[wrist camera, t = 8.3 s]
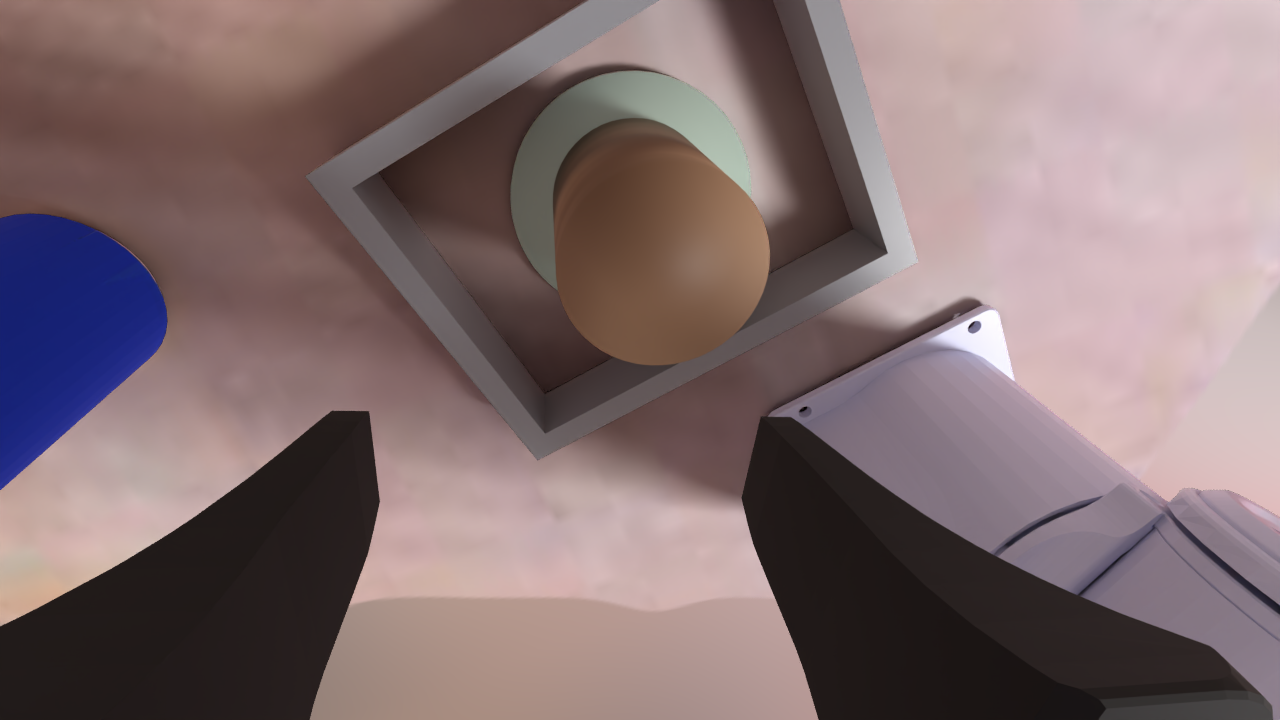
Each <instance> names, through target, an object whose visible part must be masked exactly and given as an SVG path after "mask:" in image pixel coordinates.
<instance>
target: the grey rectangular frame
mask: <svg viewBox="0 0 1280 720" xmlns="http://www.w3.org/2000/svg"><path fill="white" fill-rule="evenodd" d="M657 1H659V0H585V1H583V2H581V3H580V4H578V5H577V6H575V7H573V8H572V9H570V10H569V11H567V12H565V13H564V14H562V15H561V16H559V17H557V18H556V19H554V20H552V21H551V22H549V23H548V24H546V25H544V26H543V27H541V28H540V29H538V30H536V31H535V32H533V33H532V34H530V35H528V36H527V37H525V38H524V39H522V40H520V41H519V42H517V43H515V44H514V45H512V46H511V47H509V48H507V49H506V50H504V51H503V52H501V53H499V54H498V55H496V56H495V57H493V58H491V59H490V60H488V61H487V62H485V63H483V64H482V65H480V66H478V67H477V68H475V69H474V70H472V71H470V72H469V73H467V74H466V75H464V76H462V77H461V78H459V79H458V80H456V81H454V82H453V83H451V84H450V85H448V86H446V87H445V88H443V89H441V90H440V91H438V92H437V93H435V94H433V95H432V96H430V97H429V98H427V99H425V100H424V101H422V102H421V103H419V104H417V105H416V106H414V107H412V108H411V109H409V110H408V111H406V112H404V113H403V114H401V115H400V116H398V117H396V118H395V119H393V120H392V121H390V122H388V123H387V124H385V125H384V126H382V127H380V128H379V129H377V130H375V131H374V132H372V133H371V134H369V135H367V136H366V137H364V138H363V139H361V140H359V141H358V142H356V143H355V144H353V145H351V146H350V147H348V148H347V149H345V150H343V151H342V152H340V153H338V154H337V155H335V156H334V157H332V158H331V159H329V160H328V161H326V162H325V163H324V164H322V165H321V166H319V167H318V168H316V169H315V170H314V171H312V172H311V173H309V174H308V175H306V176H305V177H306V178H307V180H308V181H309V182H310V183H311V184H312V186H313V187H314V188H315V189H316V191H317V192H318V193H319V194H320V195H321V197H322V198H323V199H324V200H325V202H326V203H327V204H328V205H329V206H330V208H331V209H332V210H333V211H334V213H335V214H336V215H337V216H338V217H339V219H340V220H341V221H342V222H343V224H344V225H345V226H346V227H347V228H348V230H349V231H350V232H351V233H352V235H353V236H354V237H355V238H356V239H357V241H358V242H359V243H360V244H361V246H362V247H363V248H364V249H365V250H366V252H367V253H368V254H369V255H370V257H371V258H372V259H373V260H374V261H375V263H376V264H377V265H378V266H379V268H380V269H381V270H382V271H383V272H384V274H385V275H386V276H387V277H388V278H389V280H390V281H391V282H392V283H393V285H394V286H395V287H396V288H397V289H398V291H399V292H400V293H401V294H402V296H403V297H404V298H405V299H406V300H407V302H408V303H409V304H410V305H411V307H412V308H413V309H414V310H415V311H416V313H417V314H418V315H419V316H420V318H421V319H422V320H423V321H424V322H425V324H426V325H427V326H428V327H429V329H430V330H431V331H432V332H433V333H434V335H435V336H436V337H437V338H438V340H439V341H440V342H441V343H442V344H443V346H444V347H445V348H446V349H447V351H448V352H449V353H450V354H451V355H452V357H453V358H454V359H455V360H456V361H457V363H458V364H459V365H460V366H461V368H462V369H463V370H464V371H465V372H466V374H467V375H468V376H469V377H470V379H471V380H472V381H473V382H474V383H475V385H476V386H477V387H478V388H479V390H480V391H481V392H482V393H483V394H484V396H485V397H486V398H487V399H488V401H489V402H490V403H491V404H492V405H493V407H494V408H495V409H496V410H497V412H498V413H499V414H500V415H501V416H502V418H503V419H504V420H505V421H506V423H507V424H508V425H509V426H510V427H511V429H512V430H513V431H514V432H515V434H516V435H517V436H518V437H519V438H520V440H521V441H522V442H523V443H524V444H525V446H526V447H527V448H528V449H529V451H530V452H531V453H532V454H533V455H534V457H535V458H536V459H537V460H539V459H541V458H543V457H545V456H547V455H549V454H551V453H553V452H555V451H557V450H558V449H560V448H562V447H564V446H566V445H568V444H570V443H572V442H574V441H576V440H578V439H580V438H581V437H583V436H585V435H587V434H589V433H591V432H593V431H595V430H597V429H599V428H601V427H603V426H605V425H606V424H608V423H610V422H612V421H614V420H616V419H618V418H620V417H622V416H624V415H626V414H628V413H629V412H631V411H633V410H635V409H637V408H639V407H641V406H643V405H645V404H647V403H649V402H651V401H653V400H654V399H656V398H658V397H660V396H662V395H664V394H666V393H668V392H670V391H672V390H674V389H676V388H677V387H679V386H681V385H683V384H685V383H687V382H689V381H691V380H693V379H695V378H697V377H699V376H701V375H702V374H704V373H706V372H708V371H710V370H712V369H714V368H716V367H718V366H720V365H722V364H724V363H725V362H727V361H729V360H731V359H733V358H735V357H737V356H739V355H741V354H743V353H745V352H747V351H748V350H750V349H752V348H754V347H756V346H758V345H760V344H762V343H764V342H766V341H768V340H770V339H772V338H773V337H775V336H777V335H779V334H781V333H783V332H785V331H787V330H789V329H791V328H793V327H795V326H796V325H798V324H800V323H802V322H804V321H806V320H808V319H810V318H812V317H814V316H816V315H818V314H820V313H821V312H823V311H825V310H827V309H829V308H831V307H833V306H835V305H837V304H839V303H841V302H843V301H844V300H846V299H848V298H850V297H852V296H854V295H856V294H858V293H860V292H862V291H864V290H866V289H868V288H869V287H871V286H873V285H875V284H877V283H879V282H881V281H883V280H885V279H887V278H889V277H891V276H892V275H894V274H896V273H898V272H900V271H902V270H904V269H906V268H908V267H910V266H912V265H914V264H915V263H917V262H918V259H917V255H916V252H915V249H914V245H913V242H912V239H911V235H910V232H909V229H908V226H907V222H906V219H905V216H904V212H903V209H902V206H901V202H900V199H899V196H898V192H897V189H896V186H895V182H894V179H893V176H892V172H891V169H890V166H889V163H888V159H887V156H886V153H885V149H884V146H883V143H882V139H881V136H880V133H879V129H878V126H877V123H876V119H875V116H874V113H873V109H872V106H871V103H870V100H869V96H868V93H867V90H866V86H865V83H864V80H863V76H862V73H861V70H860V66H859V63H858V60H857V56H856V53H855V50H854V46H853V43H852V40H851V37H850V33H849V30H848V27H847V23H846V20H845V17H844V13H843V10H842V7H841V3H840V0H773V2H774V5H775V8H776V11H777V14H778V16H779V19H780V22H781V25H782V28H783V31H784V33H785V36H786V39H787V42H788V45H789V48H790V50H791V53H792V56H793V59H794V62H795V65H796V68H797V70H798V73H799V76H800V79H801V82H802V85H803V87H804V90H805V93H806V96H807V99H808V102H809V104H810V107H811V110H812V113H813V116H814V119H815V121H816V124H817V127H818V130H819V133H820V136H821V138H822V141H823V144H824V147H825V150H826V153H827V155H828V158H829V161H830V164H831V167H832V170H833V172H834V175H835V178H836V181H837V184H838V187H839V189H840V192H841V195H842V198H843V201H844V204H845V207H846V209H847V212H848V215H849V218H850V221H851V224H852V226H853V229H852V230H851V231H849V232H847V233H845V234H843V235H841V236H839V237H837V238H836V239H834V240H832V241H830V242H828V243H826V244H824V245H823V246H821V247H819V248H817V249H815V250H813V251H811V252H809V253H808V254H806V255H804V256H802V257H800V258H798V259H796V260H795V261H793V262H791V263H789V264H787V265H785V266H783V267H781V268H780V269H778V270H776V271H774V272H772V273H770V274H768V277H767V282H766V285H765V288H764V291H763V294H762V296H761V298H760V300H759V302H758V305H757V306H756V308H755V309H754V311H753V313H752V314H751V316H750V317H749V318H748V320H747V321H746V322H745V324H744V325H743V326H742V327H741V328H740V329H739V330H738V331H737V332H736V333H735V334H734V335H733V336H732V337H731V338H729V339H728V340H727V341H726V342H724V343H723V344H722V345H720V346H718V347H717V348H715V349H714V350H712V351H710V352H708V353H706V354H704V355H702V356H700V357H697V358H694V359H691V360H689V361H685V362H681V363H676V364H669V365H642V364H635V363H631V362H627V361H623V360H620V359H618V358H615V357H613V358H612V359H610V360H608V361H606V362H604V363H602V364H600V365H598V366H597V367H595V368H593V369H591V370H589V371H587V372H585V373H583V374H582V375H580V376H578V377H576V378H574V379H572V380H570V381H569V382H567V383H565V384H563V385H561V386H559V387H557V388H555V389H554V390H552V391H550V392H548V393H546V394H544V392H543V391H542V390H541V388H540V387H539V386H538V384H537V383H536V382H535V380H534V379H533V378H532V376H531V375H530V374H529V372H528V371H527V370H526V369H525V367H524V366H523V365H522V363H521V362H520V361H519V359H518V358H517V357H516V355H515V354H514V353H513V351H512V350H511V349H510V347H509V346H508V345H507V343H506V342H505V341H504V339H503V338H502V337H501V335H500V334H499V333H498V331H497V330H496V329H495V327H494V326H493V325H492V323H491V322H490V321H489V319H488V318H487V317H486V315H485V314H484V313H483V311H482V310H481V309H480V307H479V306H478V305H477V303H476V302H475V301H474V299H473V298H472V297H471V295H470V294H469V293H468V291H467V290H466V289H465V287H464V286H463V285H462V283H461V282H460V281H459V279H458V278H457V277H456V275H455V274H454V273H453V271H452V270H451V269H450V267H449V266H448V265H447V263H446V262H445V261H444V259H443V258H442V257H441V255H440V254H439V253H438V252H437V250H436V249H435V248H434V246H433V245H432V244H431V242H430V241H429V240H428V238H427V237H426V236H425V234H424V233H423V232H422V230H421V229H420V228H419V226H418V225H417V224H416V222H415V221H414V220H413V218H412V217H411V216H410V214H409V213H408V212H407V210H406V209H405V208H404V206H403V205H402V204H401V202H400V201H399V200H398V198H397V197H396V196H395V194H394V193H393V192H392V190H391V189H390V188H389V186H388V185H387V184H386V182H385V181H384V180H383V178H382V177H381V176H380V174H379V173H378V172H379V171H381V170H382V169H384V168H386V167H387V166H389V165H391V164H392V163H394V162H395V161H397V160H399V159H400V158H402V157H404V156H405V155H407V154H409V153H410V152H412V151H413V150H415V149H417V148H418V147H420V146H422V145H423V144H425V143H427V142H428V141H430V140H431V139H433V138H435V137H436V136H438V135H440V134H441V133H443V132H445V131H446V130H448V129H449V128H451V127H453V126H454V125H456V124H458V123H459V122H461V121H463V120H464V119H466V118H467V117H469V116H471V115H472V114H474V113H476V112H477V111H479V110H481V109H482V108H484V107H485V106H487V105H489V104H490V103H492V102H494V101H495V100H497V99H499V98H500V97H502V96H503V95H505V94H507V93H508V92H510V91H512V90H513V89H515V88H517V87H518V86H520V85H522V84H523V83H525V82H526V81H528V80H530V79H531V78H533V77H535V76H536V75H538V74H540V73H541V72H543V71H544V70H546V69H548V68H549V67H551V66H553V65H554V64H556V63H558V62H559V61H561V60H562V59H564V58H566V57H567V56H569V55H571V54H572V53H574V52H576V51H577V50H579V49H580V48H582V47H584V46H585V45H587V44H589V43H590V42H592V41H594V40H595V39H597V38H598V37H600V36H602V35H603V34H605V33H607V32H608V31H610V30H612V29H613V28H615V27H616V26H618V25H620V24H621V23H623V22H625V21H626V20H628V19H630V18H631V17H633V16H634V15H636V14H638V13H639V12H641V11H643V10H644V9H646V8H648V7H649V6H651V5H652V4H654V3H656V2H657Z"/></svg>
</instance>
